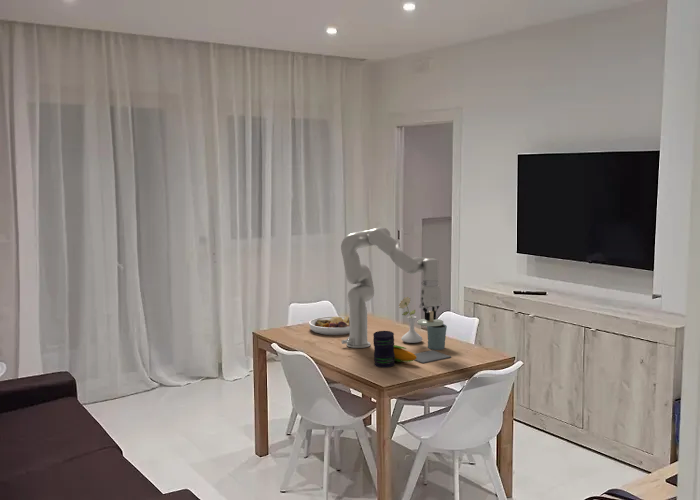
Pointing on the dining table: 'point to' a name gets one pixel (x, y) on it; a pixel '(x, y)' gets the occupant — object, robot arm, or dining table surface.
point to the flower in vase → (411, 334)
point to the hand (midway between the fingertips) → (430, 319)
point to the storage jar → (384, 349)
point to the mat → (430, 356)
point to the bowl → (330, 325)
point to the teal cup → (436, 337)
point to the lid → (430, 321)
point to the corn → (403, 354)
